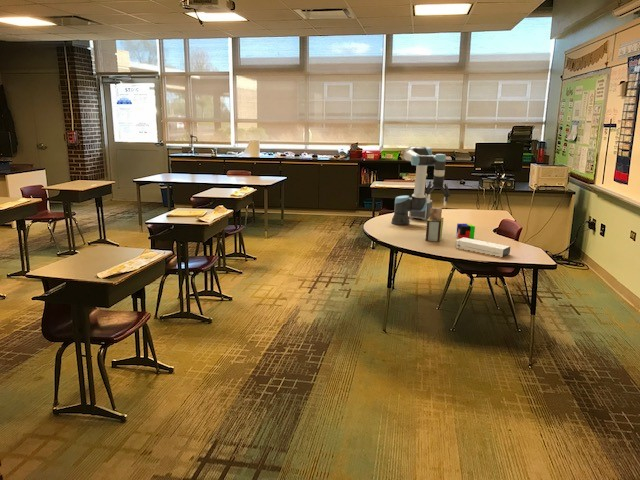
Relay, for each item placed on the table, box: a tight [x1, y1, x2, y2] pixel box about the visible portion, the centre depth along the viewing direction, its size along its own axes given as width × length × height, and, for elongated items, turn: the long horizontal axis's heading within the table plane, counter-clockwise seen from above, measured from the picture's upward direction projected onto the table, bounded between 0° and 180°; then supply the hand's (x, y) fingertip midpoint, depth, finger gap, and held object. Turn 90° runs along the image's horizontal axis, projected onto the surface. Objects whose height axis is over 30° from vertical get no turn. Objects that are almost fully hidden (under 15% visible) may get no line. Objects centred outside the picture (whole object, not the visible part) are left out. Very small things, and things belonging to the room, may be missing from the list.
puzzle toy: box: [455, 223, 476, 240], centre depth 378 cm, size 10×10×10 cm
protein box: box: [425, 217, 444, 243], centre depth 371 cm, size 10×15×16 cm
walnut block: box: [430, 206, 443, 220], centre depth 368 cm, size 6×6×8 cm
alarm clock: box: [408, 199, 433, 222], centre depth 443 cm, size 18×13×18 cm
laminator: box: [455, 237, 511, 258], centre depth 341 cm, size 34×12×6 cm, turn 48°
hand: (436, 204), depth 367 cm, fingers open, 13 cm apart
